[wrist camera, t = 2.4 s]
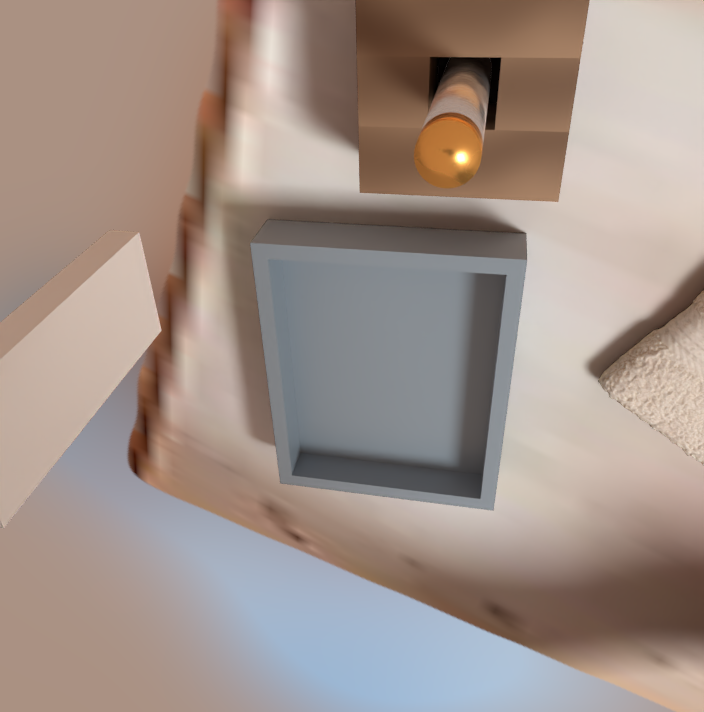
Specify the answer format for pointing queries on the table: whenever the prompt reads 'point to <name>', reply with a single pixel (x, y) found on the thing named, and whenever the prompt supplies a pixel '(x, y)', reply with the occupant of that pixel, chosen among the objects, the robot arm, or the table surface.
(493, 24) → the block
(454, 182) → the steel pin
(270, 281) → the tray
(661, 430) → the washcloth
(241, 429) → the table surface
